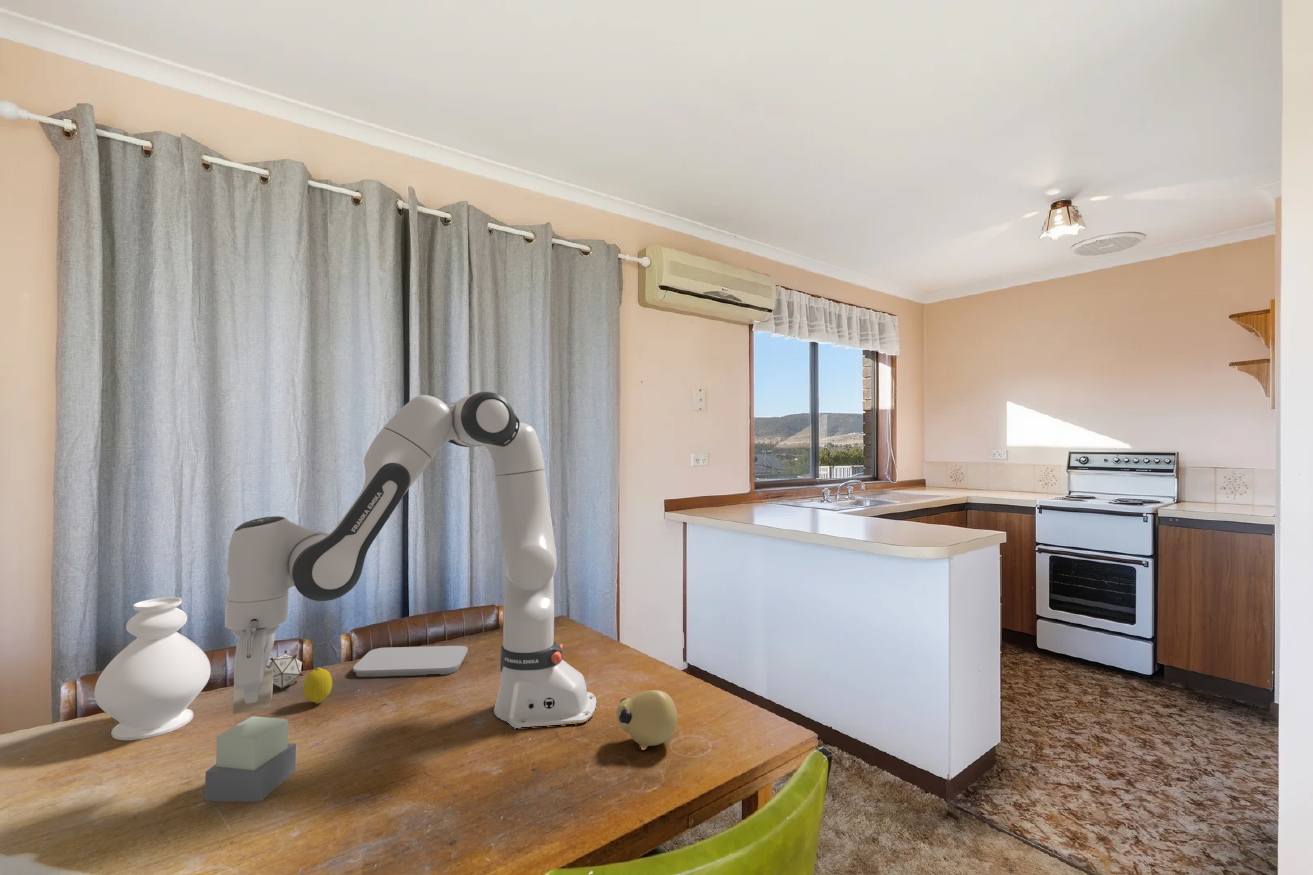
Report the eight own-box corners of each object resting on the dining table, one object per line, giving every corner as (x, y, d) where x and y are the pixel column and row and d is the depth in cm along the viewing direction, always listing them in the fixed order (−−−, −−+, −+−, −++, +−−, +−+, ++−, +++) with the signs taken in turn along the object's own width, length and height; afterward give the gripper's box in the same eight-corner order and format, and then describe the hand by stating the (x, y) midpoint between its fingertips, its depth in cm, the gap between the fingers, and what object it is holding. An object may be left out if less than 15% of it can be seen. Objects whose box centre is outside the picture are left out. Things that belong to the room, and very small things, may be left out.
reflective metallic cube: (269, 708, 96) (270, 678, 96) (232, 714, 94) (234, 683, 94) (272, 696, 101) (273, 667, 101) (237, 701, 98) (238, 672, 98)
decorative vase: (164, 701, 127) (168, 588, 127) (230, 710, 123) (234, 594, 124) (67, 741, 110) (72, 610, 110) (140, 753, 106) (145, 618, 106)
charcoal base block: (295, 772, 101) (296, 743, 101) (260, 803, 92) (261, 772, 92) (244, 771, 101) (245, 743, 101) (204, 802, 92) (205, 771, 92)
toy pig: (618, 731, 118) (619, 679, 118) (676, 732, 117) (677, 680, 118) (613, 756, 108) (614, 700, 108) (677, 758, 107) (678, 701, 108)
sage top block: (287, 748, 100) (288, 719, 100) (254, 770, 93) (254, 739, 93) (251, 744, 101) (252, 716, 101) (216, 766, 94) (216, 736, 94)
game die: (276, 707, 133) (247, 681, 128) (280, 681, 140) (253, 656, 135) (314, 685, 135) (287, 659, 130) (316, 660, 142) (291, 635, 138)
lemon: (337, 699, 130) (338, 663, 130) (320, 710, 124) (321, 673, 124) (314, 697, 130) (315, 662, 130) (296, 708, 125) (298, 671, 125)
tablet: (457, 676, 145) (457, 667, 145) (348, 680, 141) (348, 670, 141) (469, 653, 161) (469, 645, 161) (372, 656, 157) (372, 647, 157)
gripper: (273, 627, 90) (270, 715, 90) (283, 596, 108) (281, 670, 108) (224, 632, 87) (220, 724, 87) (243, 600, 105) (240, 675, 105)
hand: (254, 693), depth 97 cm, fingers closed on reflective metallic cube, 5 cm apart
